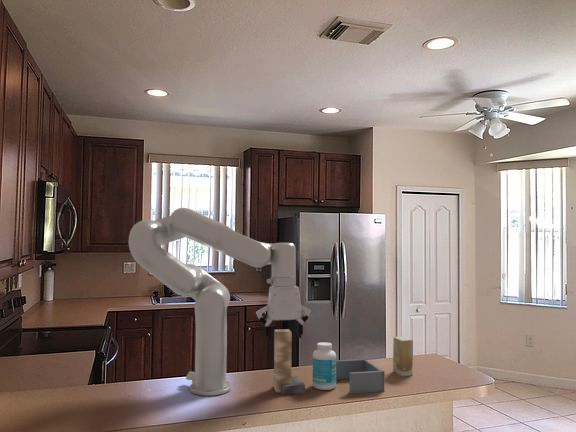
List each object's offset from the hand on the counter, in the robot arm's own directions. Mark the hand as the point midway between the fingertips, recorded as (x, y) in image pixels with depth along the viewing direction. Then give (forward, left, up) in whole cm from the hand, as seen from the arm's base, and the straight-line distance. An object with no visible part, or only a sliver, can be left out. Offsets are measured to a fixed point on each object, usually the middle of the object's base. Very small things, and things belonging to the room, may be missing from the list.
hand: (283, 337), depth 145 cm
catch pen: (+19, +16, -16) cm, 29 cm away
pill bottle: (+10, +9, -16) cm, 21 cm away
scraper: (+1, +1, -16) cm, 16 cm away
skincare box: (+28, +35, -16) cm, 48 cm away
